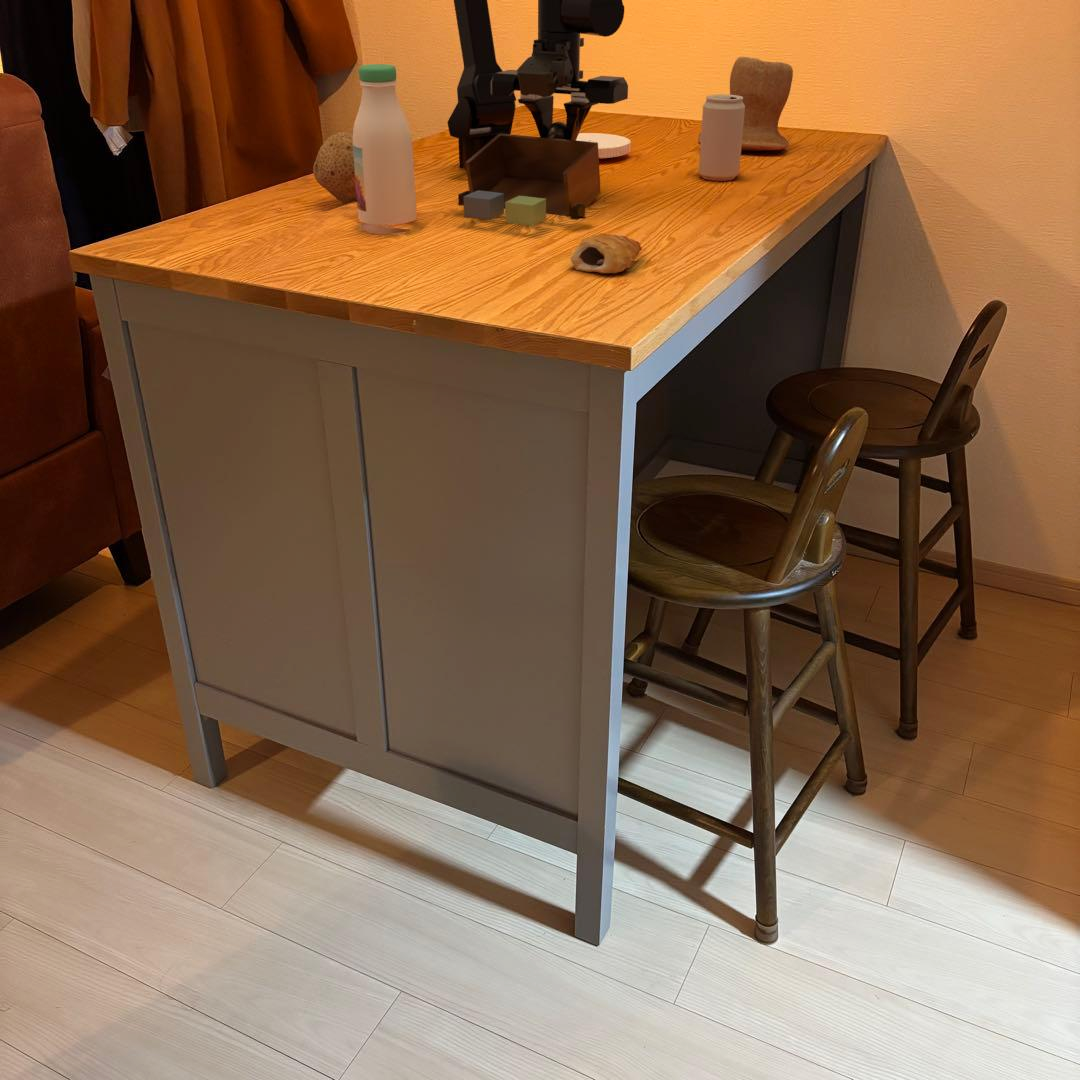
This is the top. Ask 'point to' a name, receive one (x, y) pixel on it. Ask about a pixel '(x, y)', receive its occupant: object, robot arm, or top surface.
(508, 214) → the sage block
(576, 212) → the pivot brackets
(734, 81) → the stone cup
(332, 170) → the natural sponge
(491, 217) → the slate block
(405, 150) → the milk bottle
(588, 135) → the plastic lid
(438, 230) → the top surface
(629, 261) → the pastry
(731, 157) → the beverage can
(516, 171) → the bin
